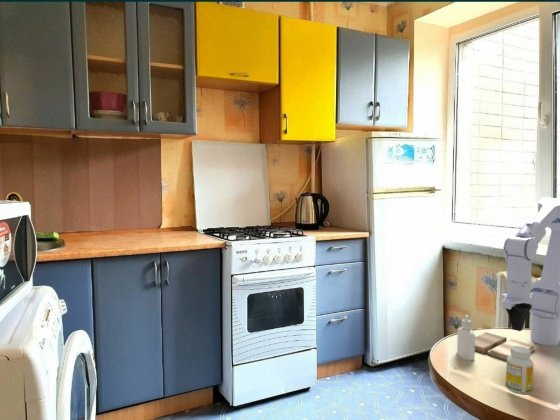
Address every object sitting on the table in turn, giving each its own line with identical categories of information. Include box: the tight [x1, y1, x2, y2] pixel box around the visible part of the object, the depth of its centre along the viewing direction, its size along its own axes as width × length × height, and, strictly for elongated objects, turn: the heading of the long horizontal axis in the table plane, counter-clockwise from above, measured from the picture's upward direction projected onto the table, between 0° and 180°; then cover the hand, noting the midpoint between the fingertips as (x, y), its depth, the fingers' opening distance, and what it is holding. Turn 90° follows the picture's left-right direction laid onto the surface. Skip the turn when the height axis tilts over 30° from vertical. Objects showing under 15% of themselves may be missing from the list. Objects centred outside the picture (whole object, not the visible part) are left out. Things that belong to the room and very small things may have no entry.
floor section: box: [475, 331, 536, 362], centre depth 119 cm, size 14×14×2 cm
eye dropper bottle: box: [456, 314, 476, 361], centre depth 114 cm, size 4×6×12 cm
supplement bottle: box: [505, 346, 534, 396], centre depth 97 cm, size 5×5×10 cm
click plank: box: [487, 338, 535, 362], centre depth 117 cm, size 13×7×2 cm, turn 128°
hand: (517, 329), depth 115 cm, fingers closed
